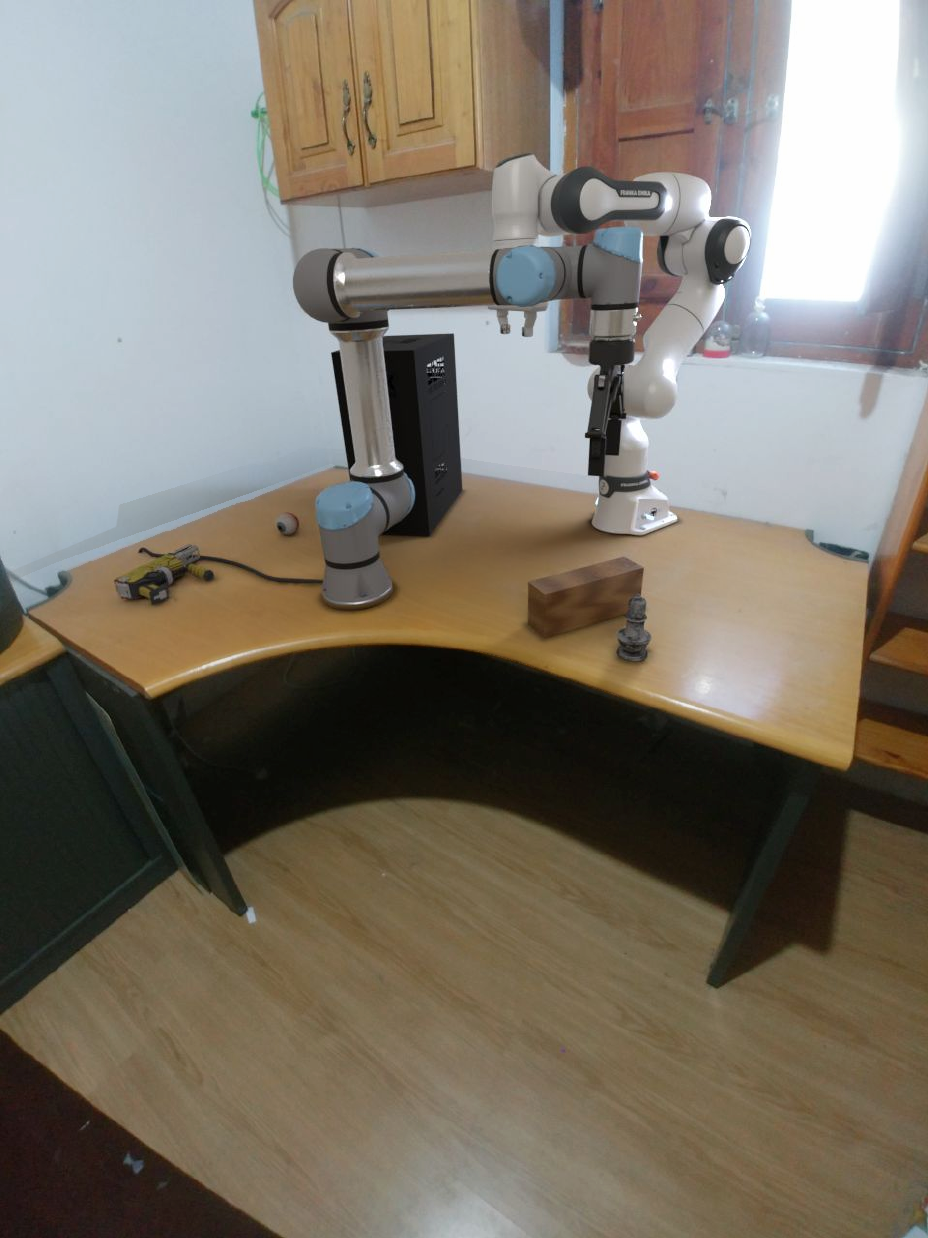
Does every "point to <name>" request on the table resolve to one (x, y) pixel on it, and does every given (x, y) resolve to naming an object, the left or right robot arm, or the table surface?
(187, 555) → the toy gun
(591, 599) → the box
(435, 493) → the black computer tower
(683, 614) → the table surface
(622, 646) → the grey chess piece
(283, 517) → the eyeball
